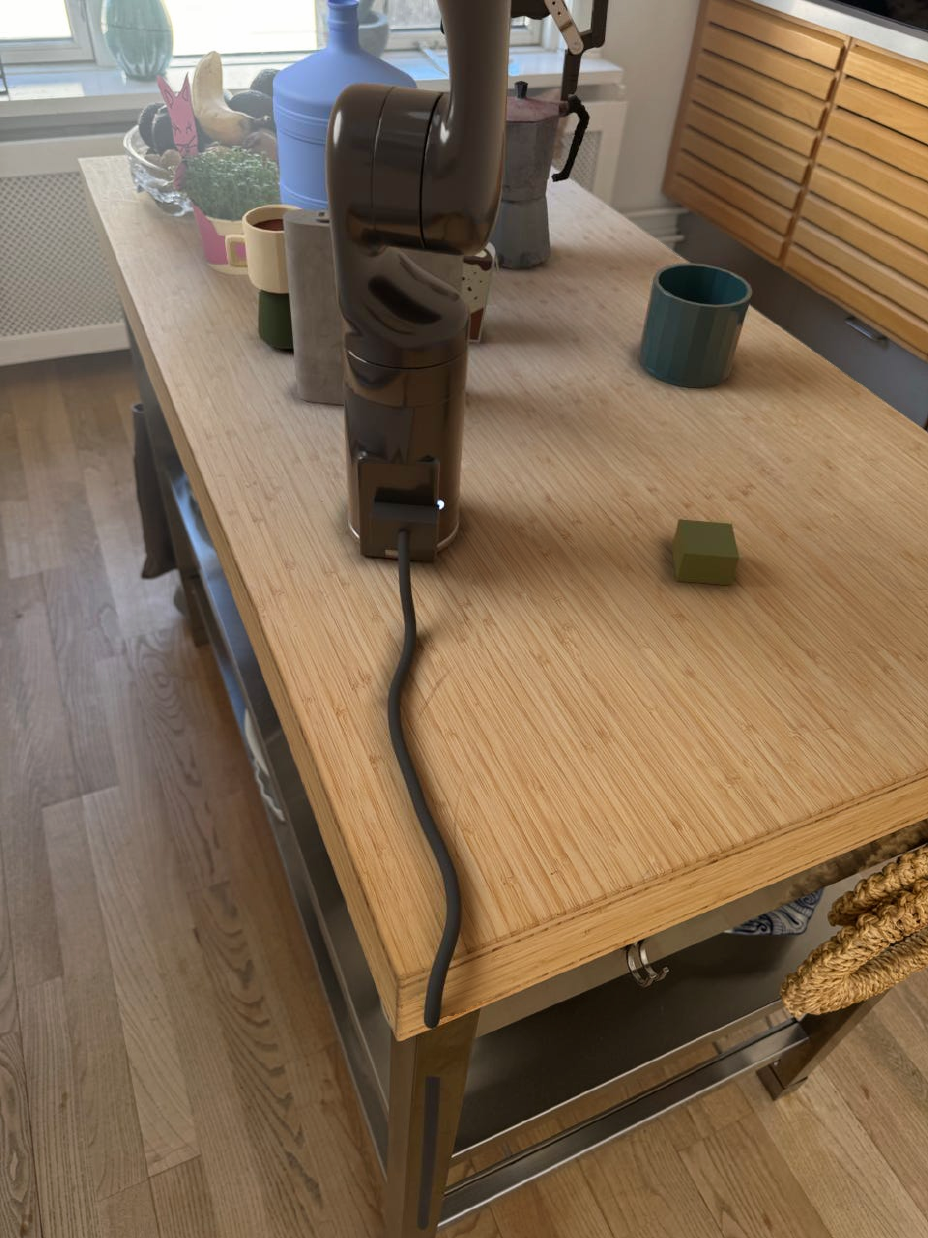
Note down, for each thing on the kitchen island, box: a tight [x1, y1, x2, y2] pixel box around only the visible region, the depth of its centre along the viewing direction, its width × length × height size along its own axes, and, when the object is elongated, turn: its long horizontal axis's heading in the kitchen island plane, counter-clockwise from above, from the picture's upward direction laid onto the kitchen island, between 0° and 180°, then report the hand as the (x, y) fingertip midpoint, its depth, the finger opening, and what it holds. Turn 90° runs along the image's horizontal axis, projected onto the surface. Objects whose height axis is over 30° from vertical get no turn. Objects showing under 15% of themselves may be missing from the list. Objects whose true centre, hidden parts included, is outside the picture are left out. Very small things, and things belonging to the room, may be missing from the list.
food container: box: [462, 242, 500, 344], centre depth 101 cm, size 12×6×10 cm, turn 84°
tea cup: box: [637, 262, 753, 388], centre depth 98 cm, size 10×10×9 cm
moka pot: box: [489, 80, 591, 269], centre depth 113 cm, size 10×15×20 cm, turn 115°
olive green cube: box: [671, 518, 740, 586], centre depth 76 cm, size 4×4×3 cm
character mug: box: [224, 204, 302, 350], centre depth 96 cm, size 11×7×13 cm, turn 93°
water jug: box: [272, 0, 418, 211], centre depth 104 cm, size 16×16×28 cm
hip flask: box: [283, 209, 464, 406], centre depth 86 cm, size 16×4×20 cm, turn 93°
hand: (517, 95), depth 84 cm, fingers open, 8 cm apart
